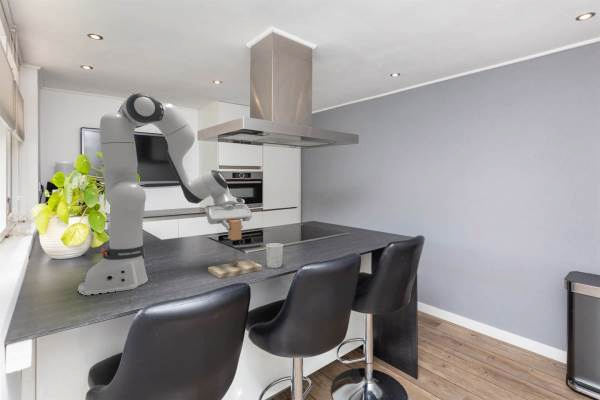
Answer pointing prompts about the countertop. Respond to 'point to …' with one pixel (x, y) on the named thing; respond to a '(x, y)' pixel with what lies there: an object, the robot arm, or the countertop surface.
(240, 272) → the post base
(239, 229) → the orange brown wooden block
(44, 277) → the countertop surface
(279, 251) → the white cup
